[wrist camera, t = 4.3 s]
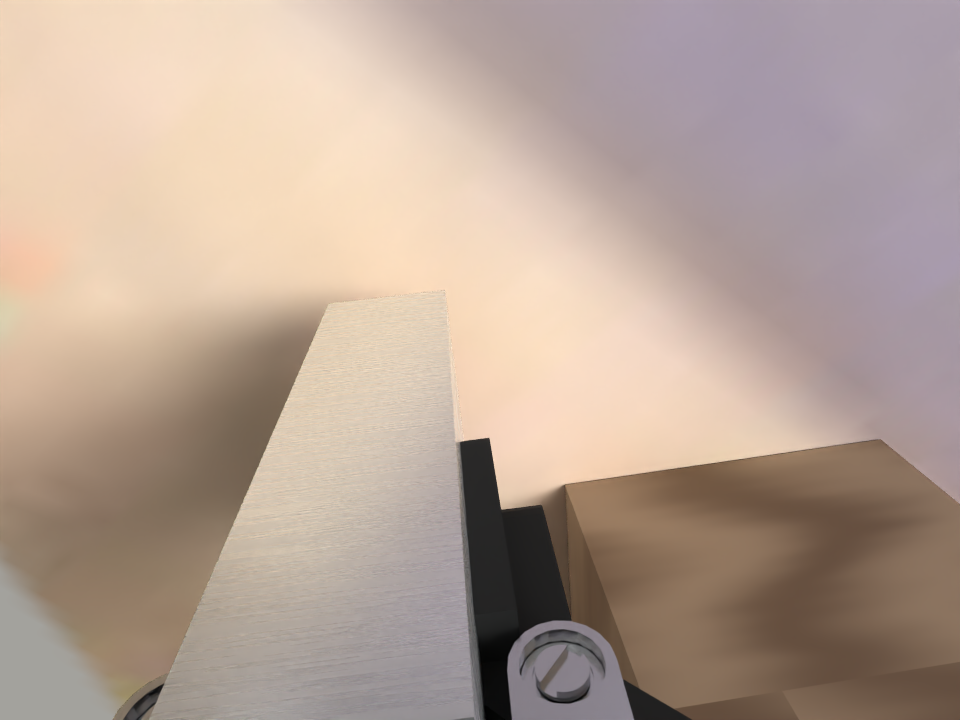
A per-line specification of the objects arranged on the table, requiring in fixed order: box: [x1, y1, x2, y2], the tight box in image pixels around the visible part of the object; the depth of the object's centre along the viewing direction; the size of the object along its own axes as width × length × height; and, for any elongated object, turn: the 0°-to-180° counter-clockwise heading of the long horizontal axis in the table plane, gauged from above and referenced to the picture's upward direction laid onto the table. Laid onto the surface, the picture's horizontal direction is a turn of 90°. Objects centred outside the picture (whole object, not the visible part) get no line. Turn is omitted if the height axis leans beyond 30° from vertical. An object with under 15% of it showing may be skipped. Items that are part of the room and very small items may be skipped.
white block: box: [149, 290, 487, 720], centre depth 10 cm, size 2×6×10 cm, turn 5°
